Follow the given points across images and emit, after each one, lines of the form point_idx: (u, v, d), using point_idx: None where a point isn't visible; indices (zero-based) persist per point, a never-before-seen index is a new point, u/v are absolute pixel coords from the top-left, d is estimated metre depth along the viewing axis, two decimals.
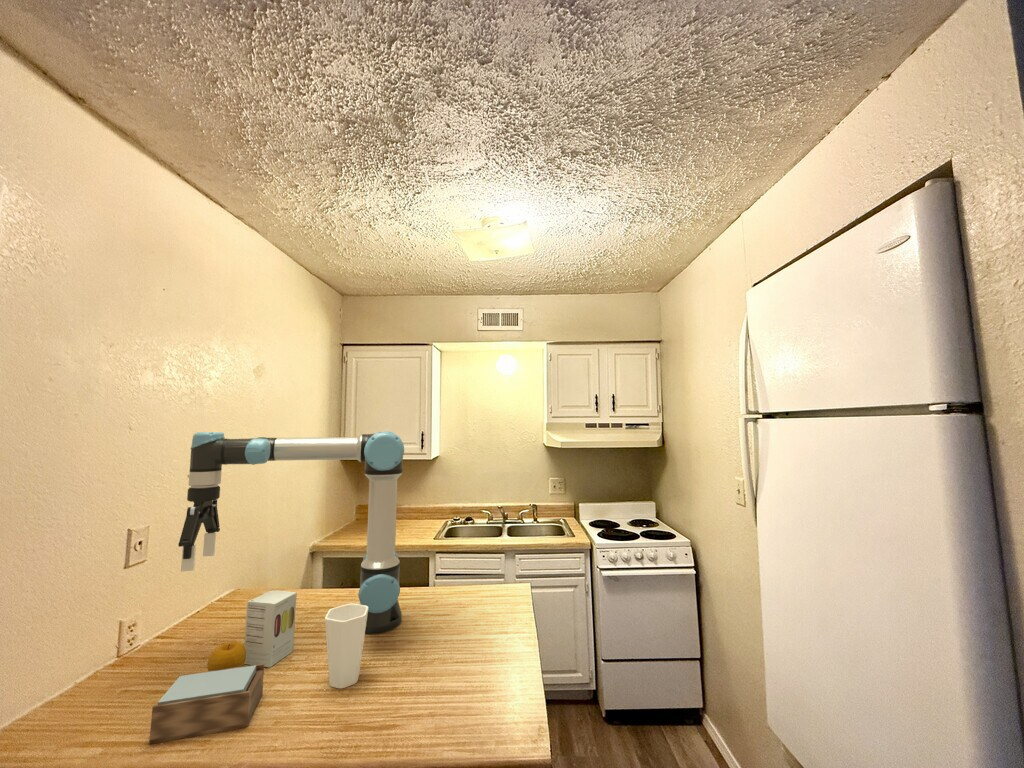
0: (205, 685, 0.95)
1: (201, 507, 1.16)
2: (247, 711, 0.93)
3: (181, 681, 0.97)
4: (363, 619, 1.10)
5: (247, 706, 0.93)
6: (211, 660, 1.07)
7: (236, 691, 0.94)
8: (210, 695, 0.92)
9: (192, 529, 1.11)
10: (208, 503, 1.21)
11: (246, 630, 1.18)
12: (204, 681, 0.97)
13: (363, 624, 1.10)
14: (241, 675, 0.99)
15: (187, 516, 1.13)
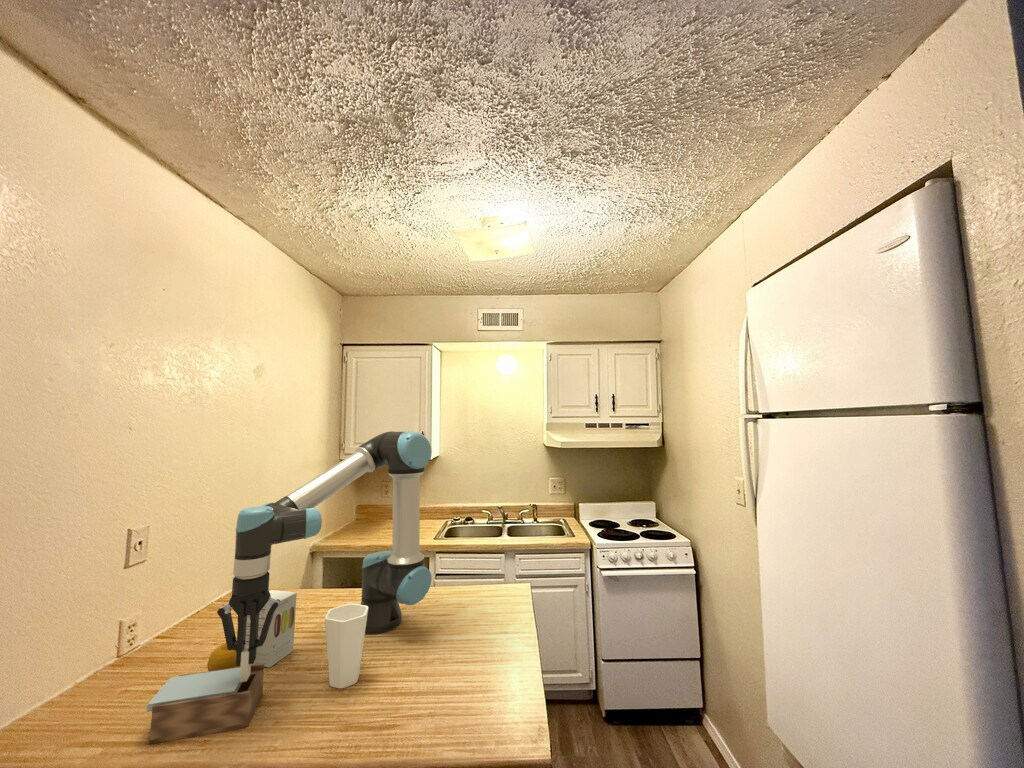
0: (196, 687, 0.95)
1: (230, 603, 0.98)
2: (247, 711, 0.93)
3: (172, 682, 0.96)
4: (363, 619, 1.10)
5: (247, 706, 0.93)
6: (211, 660, 1.07)
7: (227, 692, 0.93)
8: (200, 697, 0.92)
9: (225, 634, 0.97)
10: None
11: (246, 630, 1.18)
12: (195, 683, 0.96)
13: (363, 624, 1.10)
14: (232, 676, 0.99)
15: None
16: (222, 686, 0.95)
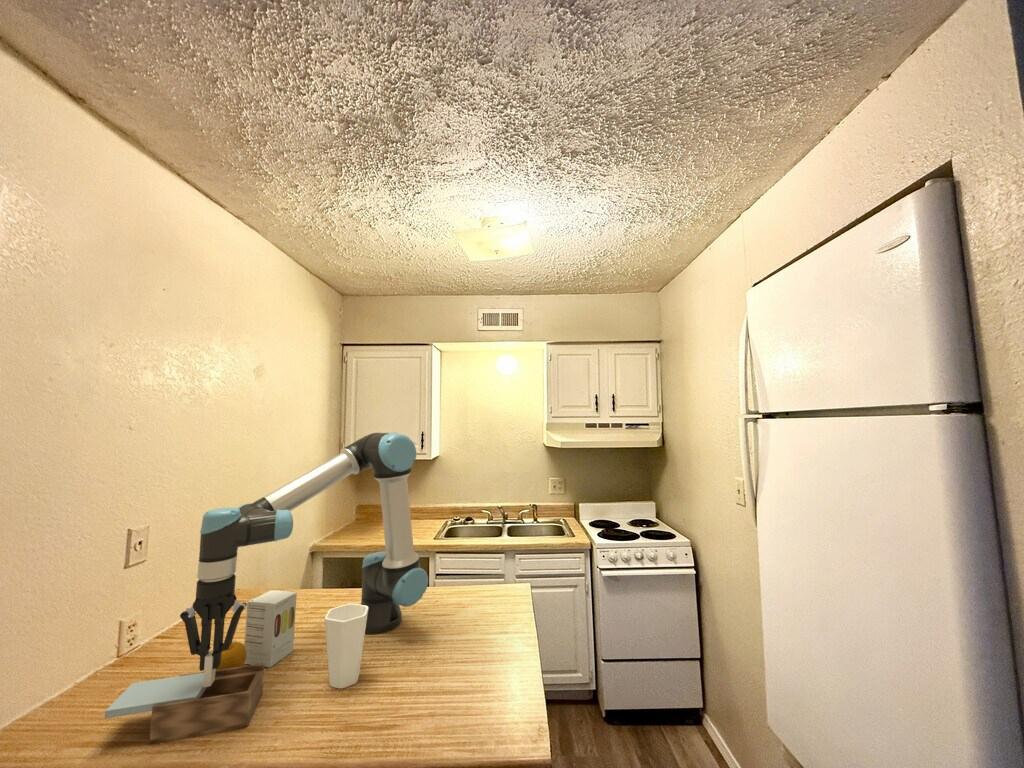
0: (157, 693, 0.93)
1: (193, 606, 0.96)
2: (247, 711, 0.93)
3: (133, 688, 0.94)
4: (363, 619, 1.10)
5: (247, 706, 0.93)
6: None
7: (188, 698, 0.91)
8: (161, 703, 0.90)
9: (188, 638, 0.95)
10: None
11: (246, 630, 1.18)
12: (157, 688, 0.94)
13: (363, 624, 1.10)
14: (196, 682, 0.97)
15: None
16: (184, 692, 0.93)
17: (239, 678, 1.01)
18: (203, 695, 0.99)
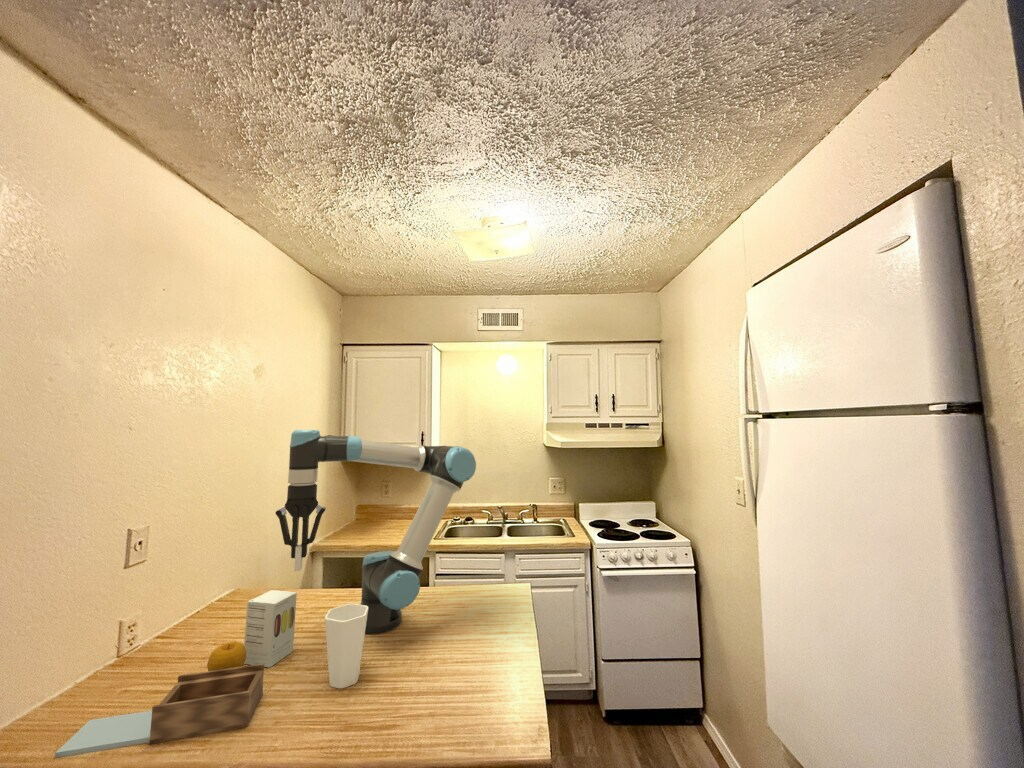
0: (112, 732, 0.90)
1: (286, 506, 1.17)
2: (247, 711, 0.93)
3: (89, 726, 0.92)
4: (363, 619, 1.10)
5: (247, 706, 0.93)
6: (211, 660, 1.07)
7: (142, 739, 0.88)
8: (113, 744, 0.87)
9: (282, 531, 1.16)
10: None
11: (246, 630, 1.18)
12: (113, 726, 0.91)
13: (363, 624, 1.10)
14: None
15: None
16: (139, 731, 0.90)
17: (239, 678, 1.01)
18: (203, 695, 0.99)
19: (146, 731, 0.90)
